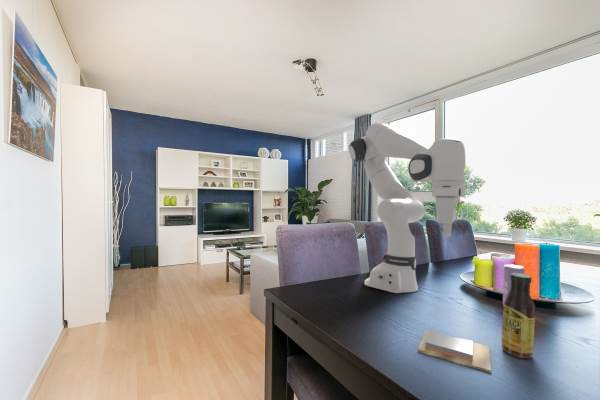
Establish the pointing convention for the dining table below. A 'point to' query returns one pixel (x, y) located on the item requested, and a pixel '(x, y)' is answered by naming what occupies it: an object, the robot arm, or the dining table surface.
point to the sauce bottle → (518, 318)
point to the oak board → (479, 359)
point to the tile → (450, 345)
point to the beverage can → (506, 277)
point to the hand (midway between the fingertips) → (447, 236)
